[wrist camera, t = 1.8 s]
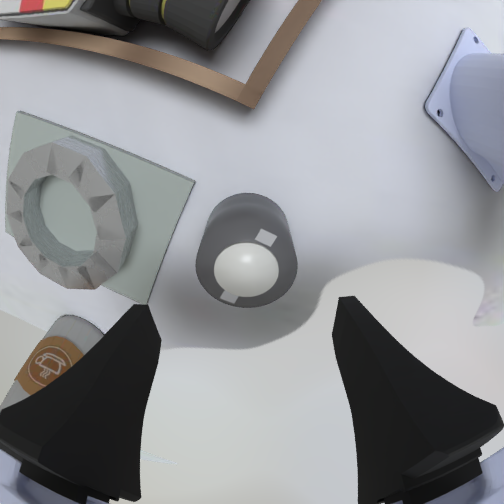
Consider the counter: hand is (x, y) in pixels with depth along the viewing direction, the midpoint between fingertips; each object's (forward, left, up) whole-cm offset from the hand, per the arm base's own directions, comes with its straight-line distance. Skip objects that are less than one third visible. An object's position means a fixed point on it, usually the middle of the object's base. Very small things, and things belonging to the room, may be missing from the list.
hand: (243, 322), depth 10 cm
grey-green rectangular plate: (+11, +3, -7) cm, 14 cm away
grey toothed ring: (+11, +3, -7) cm, 14 cm away
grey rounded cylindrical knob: (0, 0, -7) cm, 7 cm away
